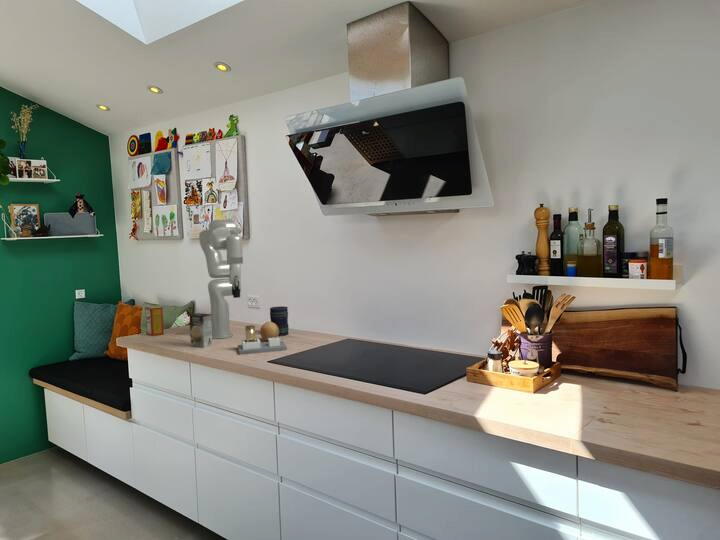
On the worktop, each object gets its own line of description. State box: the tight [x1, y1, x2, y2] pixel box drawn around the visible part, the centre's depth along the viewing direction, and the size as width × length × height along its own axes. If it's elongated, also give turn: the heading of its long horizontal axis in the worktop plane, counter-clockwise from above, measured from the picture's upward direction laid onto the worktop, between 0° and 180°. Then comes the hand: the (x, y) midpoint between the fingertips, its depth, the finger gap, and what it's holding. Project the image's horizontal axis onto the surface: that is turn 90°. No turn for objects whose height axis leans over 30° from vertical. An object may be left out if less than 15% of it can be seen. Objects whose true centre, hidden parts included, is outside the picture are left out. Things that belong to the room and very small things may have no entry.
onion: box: [259, 321, 279, 342], centre depth 263 cm, size 10×10×10 cm
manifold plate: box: [237, 336, 288, 355], centre depth 244 cm, size 14×22×4 cm, turn 107°
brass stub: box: [244, 324, 256, 342], centre depth 242 cm, size 4×4×10 cm
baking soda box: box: [144, 305, 165, 337], centre depth 289 cm, size 10×6×16 cm
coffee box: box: [189, 312, 213, 349], centre depth 255 cm, size 9×6×16 cm
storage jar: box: [269, 305, 290, 337], centre depth 278 cm, size 10×10×15 cm
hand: (236, 295), depth 246 cm, fingers open, 9 cm apart
